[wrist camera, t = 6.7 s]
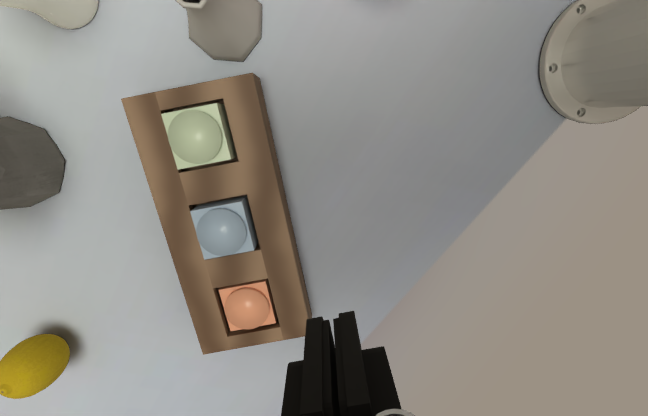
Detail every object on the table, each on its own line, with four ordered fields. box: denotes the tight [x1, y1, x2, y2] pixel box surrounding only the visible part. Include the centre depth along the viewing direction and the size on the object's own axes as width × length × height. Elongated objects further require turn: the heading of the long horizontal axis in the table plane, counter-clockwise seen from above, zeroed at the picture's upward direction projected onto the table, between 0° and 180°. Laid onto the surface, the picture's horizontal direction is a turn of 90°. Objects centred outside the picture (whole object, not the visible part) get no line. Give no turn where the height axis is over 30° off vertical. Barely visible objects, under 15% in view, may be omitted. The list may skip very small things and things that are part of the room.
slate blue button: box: [190, 196, 258, 260], centre depth 34 cm, size 5×5×3 cm
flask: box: [175, 0, 262, 62], centre depth 28 cm, size 7×7×10 cm
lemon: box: [0, 334, 70, 399], centre depth 37 cm, size 6×6×8 cm
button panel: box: [121, 73, 312, 354], centre depth 36 cm, size 12×27×4 cm, turn 11°
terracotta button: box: [219, 278, 277, 331], centre depth 37 cm, size 5×5×3 cm
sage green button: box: [161, 103, 237, 170], centre depth 32 cm, size 5×5×3 cm
